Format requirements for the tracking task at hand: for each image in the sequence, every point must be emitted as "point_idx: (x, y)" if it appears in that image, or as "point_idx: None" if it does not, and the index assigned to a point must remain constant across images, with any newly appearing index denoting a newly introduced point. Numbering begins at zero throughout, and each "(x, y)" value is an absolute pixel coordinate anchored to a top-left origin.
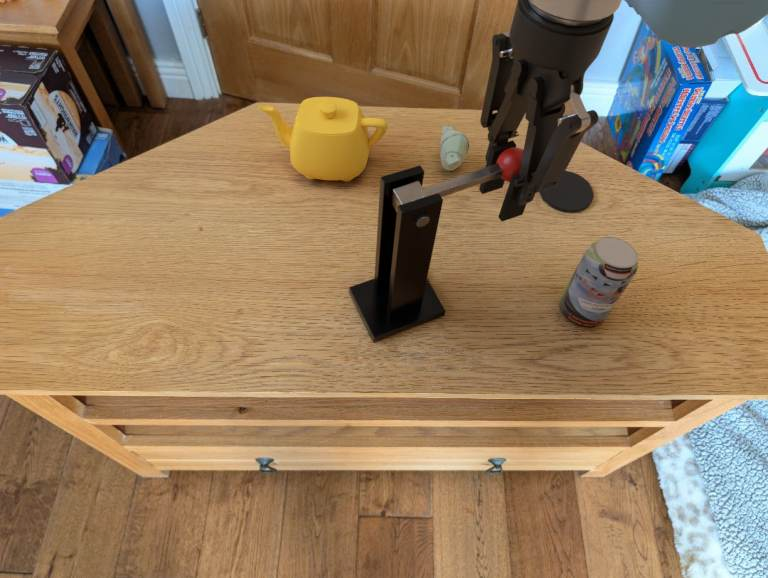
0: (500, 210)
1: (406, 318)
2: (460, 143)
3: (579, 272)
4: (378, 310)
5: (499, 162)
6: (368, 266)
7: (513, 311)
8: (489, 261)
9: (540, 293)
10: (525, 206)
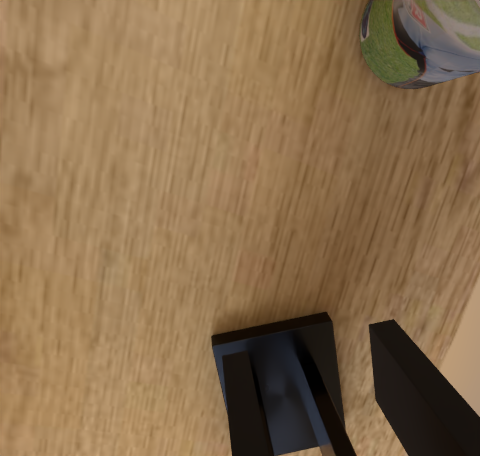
0: (390, 424)
1: (327, 388)
2: None
3: (457, 67)
4: (298, 427)
5: None
6: (188, 414)
7: (355, 179)
8: (223, 187)
9: (332, 102)
10: (418, 348)
